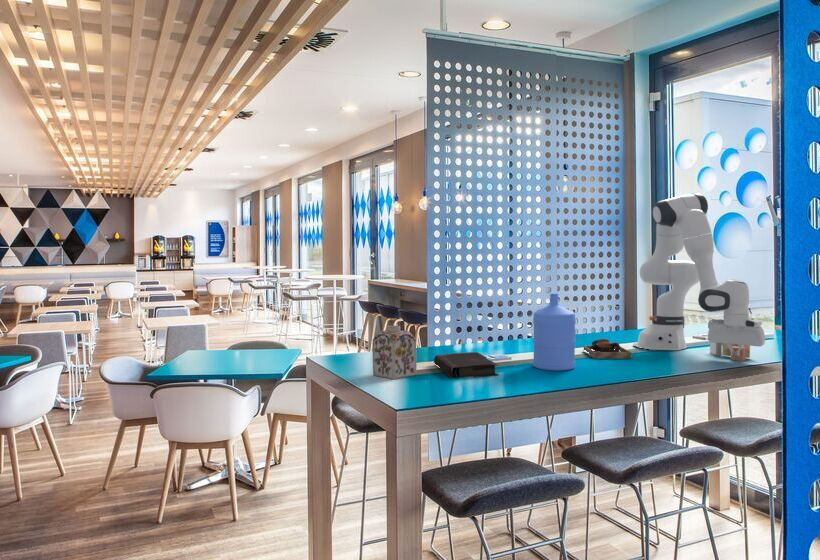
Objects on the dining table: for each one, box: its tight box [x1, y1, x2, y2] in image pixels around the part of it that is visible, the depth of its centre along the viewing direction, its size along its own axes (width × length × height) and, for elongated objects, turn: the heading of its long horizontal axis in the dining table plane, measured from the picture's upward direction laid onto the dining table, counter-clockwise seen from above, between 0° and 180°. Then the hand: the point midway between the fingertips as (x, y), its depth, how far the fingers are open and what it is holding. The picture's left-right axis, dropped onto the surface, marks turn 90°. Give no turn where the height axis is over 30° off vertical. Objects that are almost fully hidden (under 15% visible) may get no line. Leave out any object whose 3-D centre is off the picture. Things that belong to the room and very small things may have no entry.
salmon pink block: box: [730, 346, 747, 361], centre depth 253 cm, size 4×4×5 cm
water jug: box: [532, 293, 576, 372], centre depth 241 cm, size 16×16×28 cm
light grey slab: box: [709, 342, 723, 357], centre depth 264 cm, size 2×8×9 cm, turn 178°
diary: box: [433, 351, 499, 379], centre depth 237 cm, size 19×25×5 cm
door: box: [722, 343, 751, 359], centre depth 257 cm, size 10×2×7 cm, turn 49°
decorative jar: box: [372, 325, 418, 381], centre depth 229 cm, size 12×12×18 cm
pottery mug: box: [590, 338, 620, 352], centre depth 263 cm, size 12×10×8 cm
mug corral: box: [583, 345, 633, 360], centre depth 266 cm, size 15×17×2 cm
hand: (735, 355), depth 250 cm, fingers closed
